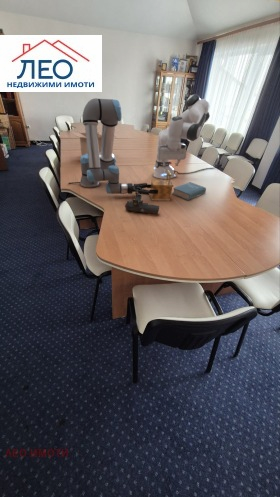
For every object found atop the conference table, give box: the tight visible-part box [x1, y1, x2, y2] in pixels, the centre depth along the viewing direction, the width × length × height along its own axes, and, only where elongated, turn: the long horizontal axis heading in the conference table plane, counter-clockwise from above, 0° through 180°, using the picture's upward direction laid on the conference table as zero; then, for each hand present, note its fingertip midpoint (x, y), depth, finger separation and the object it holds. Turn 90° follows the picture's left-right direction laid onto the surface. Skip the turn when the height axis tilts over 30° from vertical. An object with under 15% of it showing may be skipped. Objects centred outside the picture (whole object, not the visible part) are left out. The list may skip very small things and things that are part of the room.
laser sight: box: [124, 194, 160, 215], centre depth 146 cm, size 10×22×10 cm, turn 78°
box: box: [70, 130, 102, 156], centre depth 229 cm, size 44×36×27 cm
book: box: [172, 181, 207, 201], centre depth 178 cm, size 23×16×5 cm
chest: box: [149, 182, 173, 202], centre depth 167 cm, size 14×10×11 cm
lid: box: [150, 171, 175, 188], centre depth 161 cm, size 15×10×9 cm
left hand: (156, 189), depth 165 cm, fingers closed on chest, 10 cm apart
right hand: (170, 166), depth 156 cm, fingers open, 8 cm apart
